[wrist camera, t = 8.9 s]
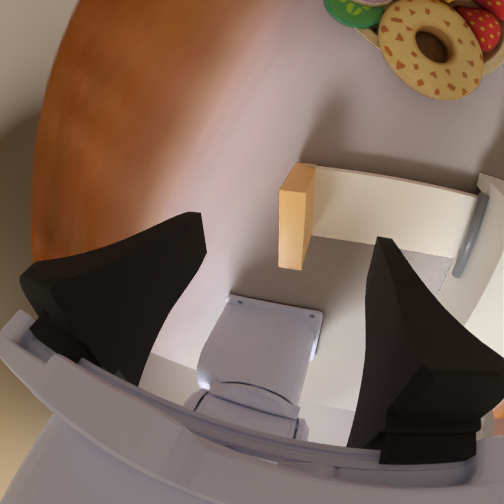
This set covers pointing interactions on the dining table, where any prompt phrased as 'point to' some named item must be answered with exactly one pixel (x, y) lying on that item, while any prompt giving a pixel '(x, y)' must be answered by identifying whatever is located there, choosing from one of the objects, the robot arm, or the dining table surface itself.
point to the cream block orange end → (369, 212)
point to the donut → (486, 426)
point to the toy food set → (431, 40)
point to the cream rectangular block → (480, 269)
